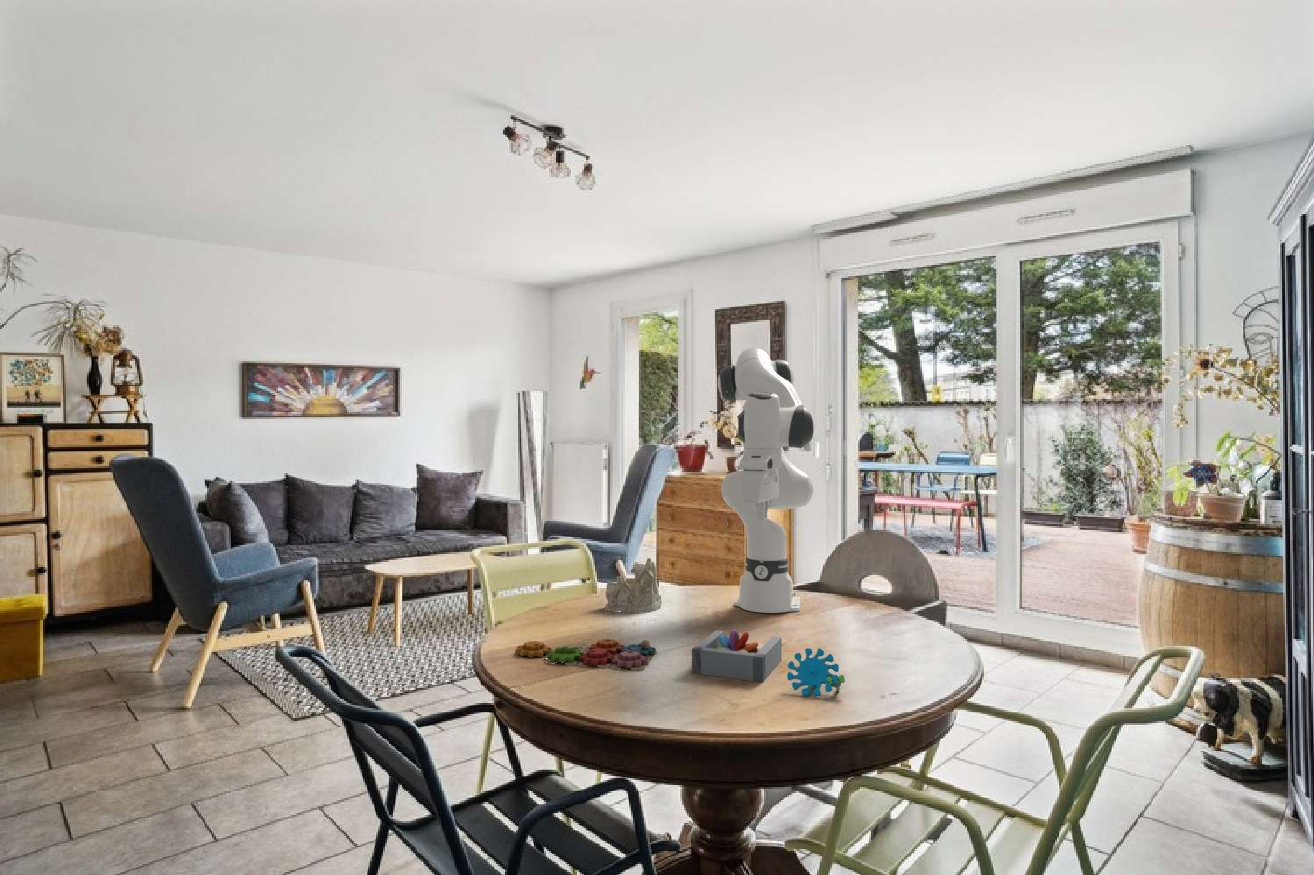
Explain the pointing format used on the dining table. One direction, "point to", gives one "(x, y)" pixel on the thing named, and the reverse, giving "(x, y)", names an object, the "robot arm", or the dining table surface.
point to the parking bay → (735, 659)
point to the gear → (815, 673)
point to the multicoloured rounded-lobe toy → (737, 643)
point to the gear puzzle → (594, 654)
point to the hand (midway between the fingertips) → (762, 519)
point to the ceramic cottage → (635, 591)
